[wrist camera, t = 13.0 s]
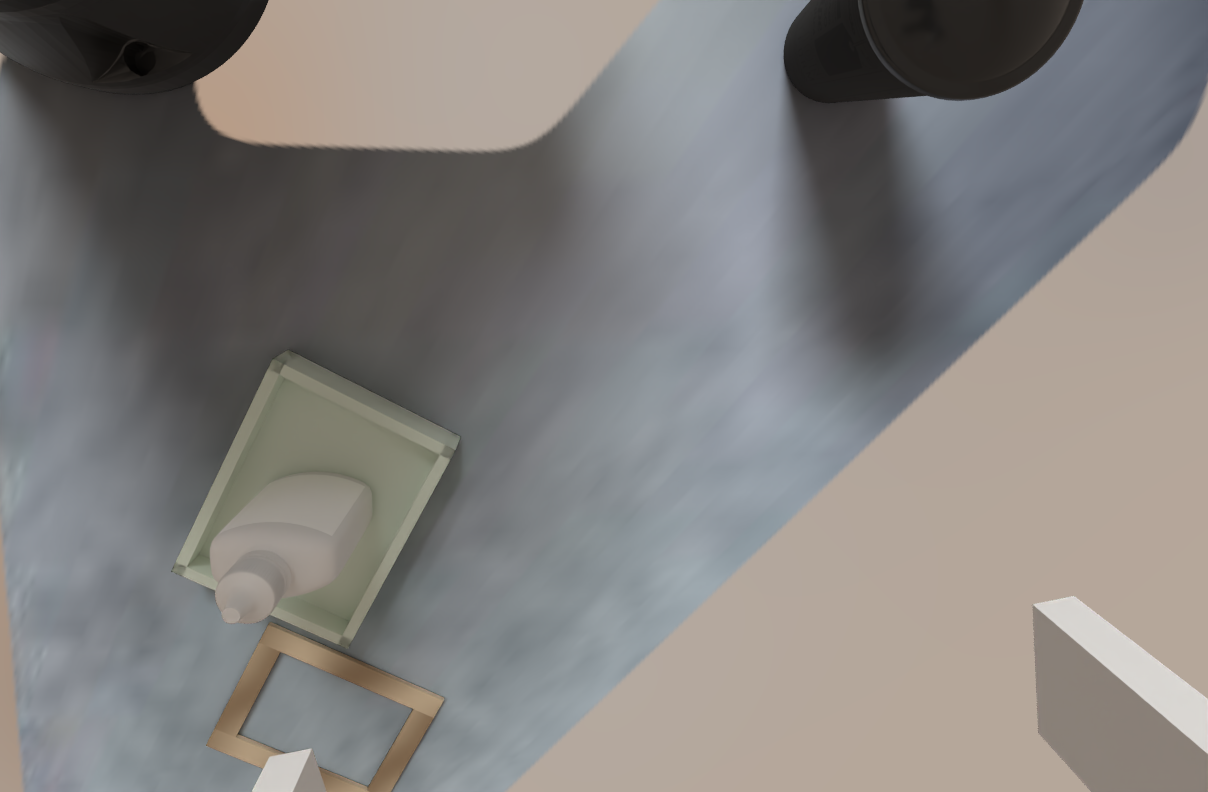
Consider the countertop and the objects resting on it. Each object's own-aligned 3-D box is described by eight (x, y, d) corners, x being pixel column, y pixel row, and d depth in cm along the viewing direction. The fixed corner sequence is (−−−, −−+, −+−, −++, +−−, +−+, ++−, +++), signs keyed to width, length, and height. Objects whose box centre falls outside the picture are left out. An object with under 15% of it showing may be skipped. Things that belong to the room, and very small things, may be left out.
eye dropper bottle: (292, 441, 41) (186, 537, 29) (387, 492, 42) (323, 604, 30) (255, 508, 41) (138, 627, 30) (349, 556, 42) (272, 689, 31)
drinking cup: (874, 152, 40) (1179, 107, 20) (734, 106, 39) (915, 12, 19) (930, -4, 38) (1322, -216, 18) (786, -57, 37) (1041, -339, 18)
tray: (191, 552, 43) (171, 571, 40) (288, 349, 40) (272, 358, 38) (357, 626, 44) (347, 648, 42) (460, 436, 42) (455, 450, 40)
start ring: (207, 742, 46) (205, 745, 45) (270, 621, 44) (268, 624, 44) (378, 810, 48) (377, 814, 47) (444, 697, 46) (443, 700, 46)
